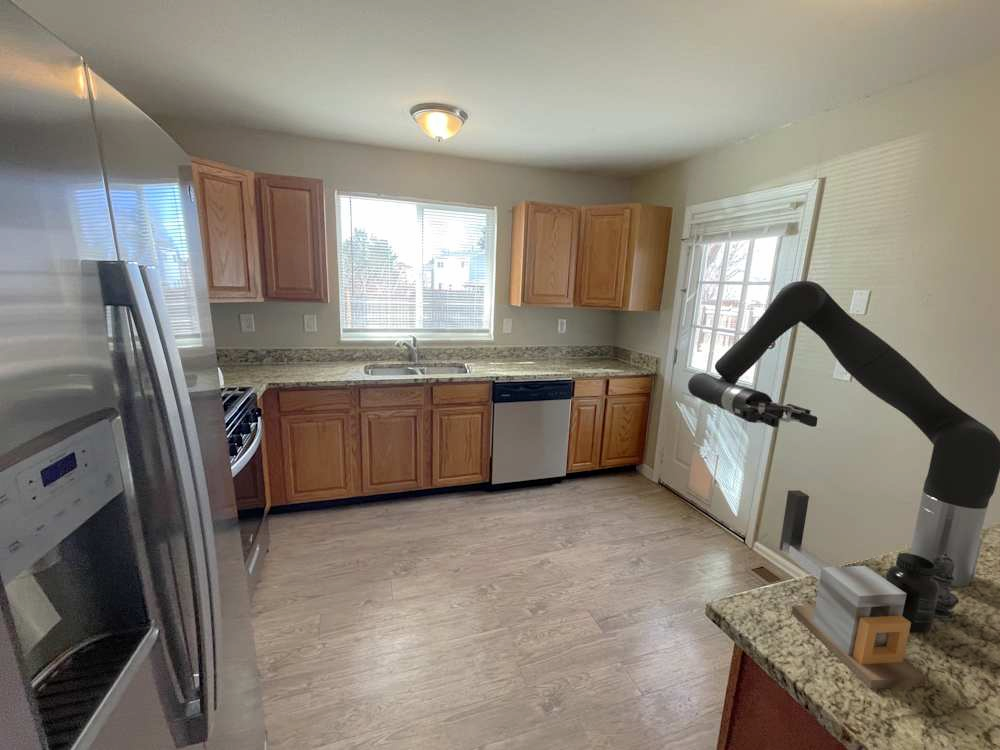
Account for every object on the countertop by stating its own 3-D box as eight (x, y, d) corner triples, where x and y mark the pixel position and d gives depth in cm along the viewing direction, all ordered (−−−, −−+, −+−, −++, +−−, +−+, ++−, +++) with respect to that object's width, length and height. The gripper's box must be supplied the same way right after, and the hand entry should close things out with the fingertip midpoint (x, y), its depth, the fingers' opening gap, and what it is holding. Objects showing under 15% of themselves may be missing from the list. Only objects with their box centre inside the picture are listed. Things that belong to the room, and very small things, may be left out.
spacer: (893, 653, 68) (901, 615, 66) (902, 661, 66) (911, 622, 65) (852, 656, 67) (860, 617, 66) (861, 664, 66) (869, 624, 64)
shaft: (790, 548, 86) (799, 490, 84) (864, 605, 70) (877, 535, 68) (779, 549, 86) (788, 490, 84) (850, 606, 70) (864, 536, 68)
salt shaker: (964, 624, 76) (979, 564, 74) (926, 618, 77) (939, 559, 75) (938, 601, 82) (951, 545, 80) (903, 596, 83) (914, 541, 81)
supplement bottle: (925, 616, 78) (938, 557, 76) (935, 640, 72) (950, 578, 70) (876, 601, 82) (887, 544, 80) (882, 623, 76) (894, 563, 74)
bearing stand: (836, 610, 79) (847, 551, 77) (925, 685, 64) (941, 614, 62) (791, 612, 78) (800, 553, 76) (870, 688, 63) (884, 617, 61)
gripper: (719, 388, 103) (766, 405, 87) (775, 388, 104) (831, 404, 88) (716, 418, 104) (761, 440, 88) (771, 417, 105) (825, 439, 89)
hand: (796, 422), depth 88 cm, fingers open, 8 cm apart
